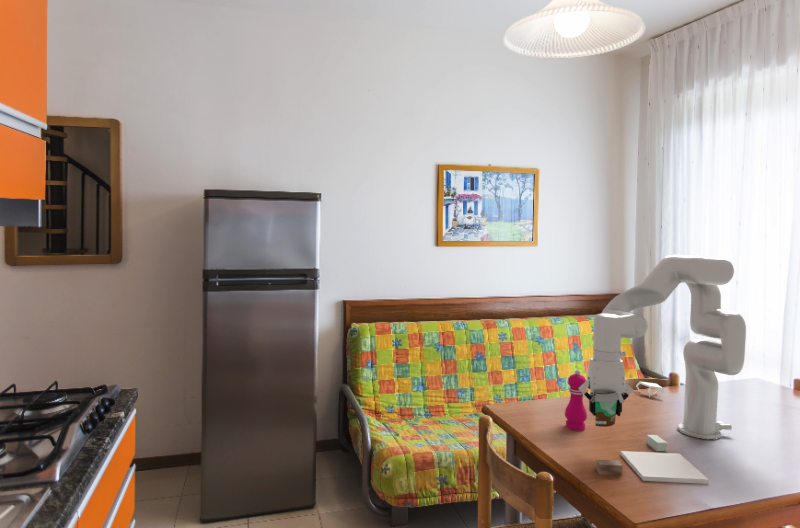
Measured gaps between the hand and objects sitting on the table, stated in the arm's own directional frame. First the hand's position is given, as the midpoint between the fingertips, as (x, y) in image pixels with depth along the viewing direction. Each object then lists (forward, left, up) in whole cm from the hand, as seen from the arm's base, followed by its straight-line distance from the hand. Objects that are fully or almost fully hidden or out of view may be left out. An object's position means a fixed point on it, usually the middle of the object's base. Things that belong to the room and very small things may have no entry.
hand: (605, 413), depth 151 cm
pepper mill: (+3, -21, -12) cm, 24 cm away
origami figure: (-39, -61, -13) cm, 74 cm away
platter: (-13, +8, -12) cm, 20 cm away
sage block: (-18, -7, -12) cm, 23 cm away
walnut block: (+3, +12, -12) cm, 18 cm away
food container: (-1, 0, -3) cm, 3 cm away
